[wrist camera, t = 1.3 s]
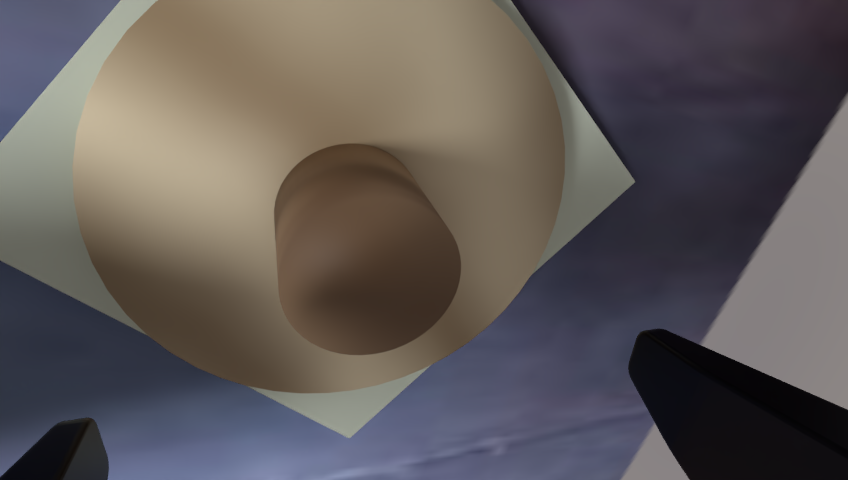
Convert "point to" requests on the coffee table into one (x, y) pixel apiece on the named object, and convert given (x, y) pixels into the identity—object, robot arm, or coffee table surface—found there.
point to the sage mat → (77, 277)
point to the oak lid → (318, 182)
